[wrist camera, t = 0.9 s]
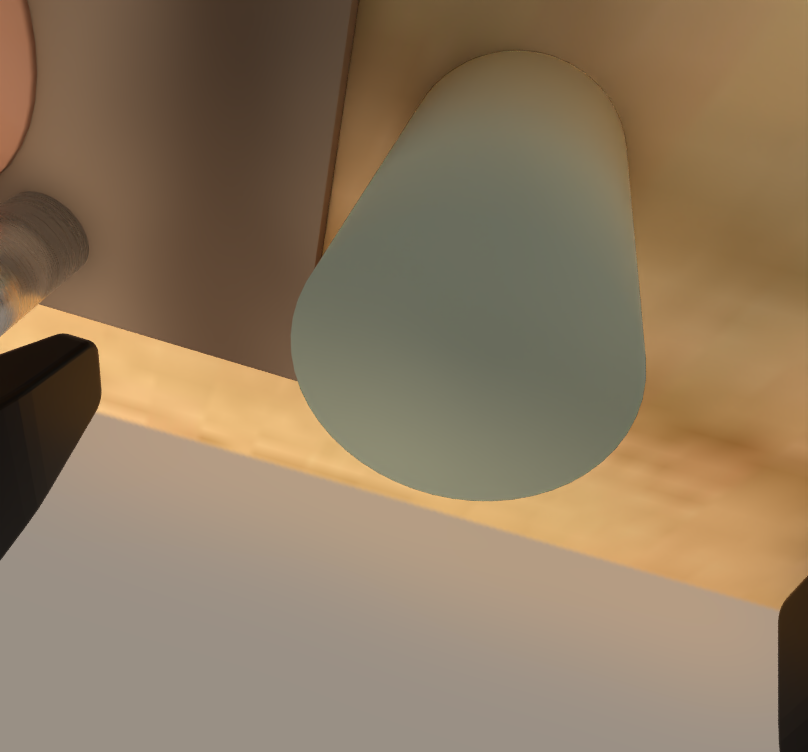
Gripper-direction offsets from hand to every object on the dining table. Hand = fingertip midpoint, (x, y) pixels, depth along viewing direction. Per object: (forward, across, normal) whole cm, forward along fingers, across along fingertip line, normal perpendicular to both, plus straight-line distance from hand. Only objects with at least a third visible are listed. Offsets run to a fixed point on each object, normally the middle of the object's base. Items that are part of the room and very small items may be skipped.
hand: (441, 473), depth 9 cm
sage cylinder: (+10, 0, 0) cm, 10 cm away
